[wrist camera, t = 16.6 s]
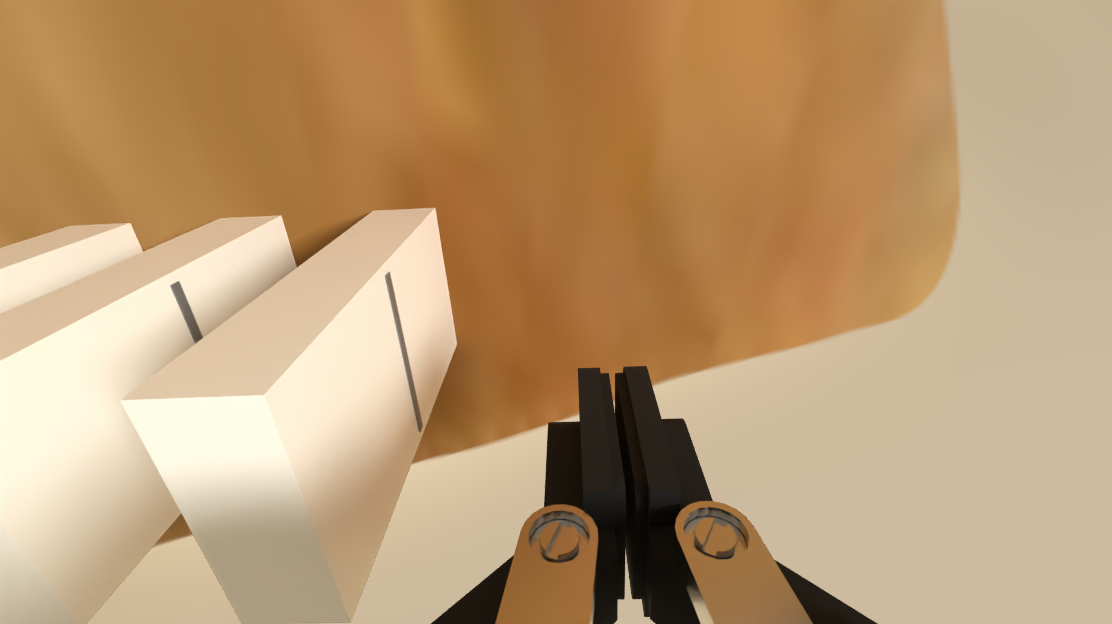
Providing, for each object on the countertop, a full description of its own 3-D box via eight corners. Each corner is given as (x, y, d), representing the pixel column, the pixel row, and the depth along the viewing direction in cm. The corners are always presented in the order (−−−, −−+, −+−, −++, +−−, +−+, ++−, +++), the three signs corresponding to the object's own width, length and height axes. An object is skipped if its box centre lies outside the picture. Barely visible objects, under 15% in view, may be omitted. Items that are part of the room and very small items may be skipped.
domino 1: (436, 207, 19) (267, 394, 8) (458, 344, 21) (353, 622, 11) (371, 210, 19) (116, 400, 8) (401, 346, 21) (240, 625, 11)
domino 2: (282, 215, 19) (-88, 407, 8) (323, 349, 22) (84, 628, 11) (219, 218, 19) (-230, 412, 8) (267, 351, 22) (-25, 630, 11)
